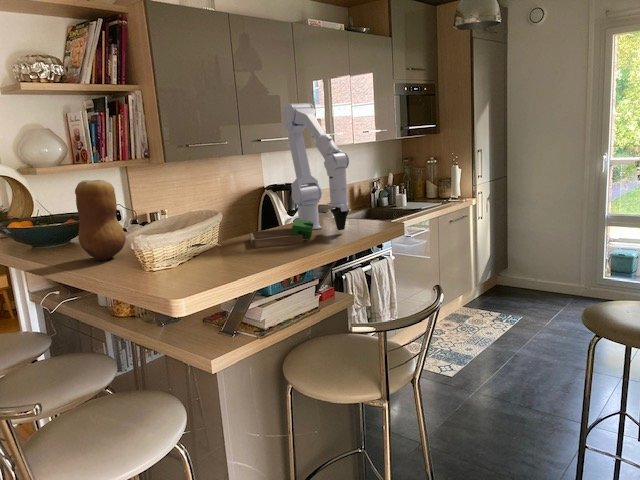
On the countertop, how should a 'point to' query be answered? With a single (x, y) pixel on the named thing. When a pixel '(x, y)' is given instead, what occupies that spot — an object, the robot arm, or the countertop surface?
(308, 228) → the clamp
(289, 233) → the tray
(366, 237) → the countertop surface
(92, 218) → the butternut squash
